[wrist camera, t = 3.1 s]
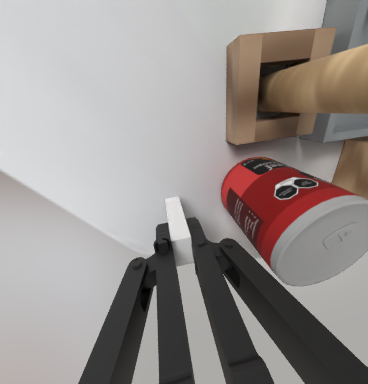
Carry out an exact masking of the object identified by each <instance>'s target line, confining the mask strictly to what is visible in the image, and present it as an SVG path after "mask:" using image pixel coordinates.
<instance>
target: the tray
mask: <svg viewBox="0 0 368 384" xmlns="http://www.w3.org/2000/svg"><path fill="white" fill-rule="evenodd" d="M330 27H337V28H336V32H335V36H334V41H333V45H332V49H331V54H330V55H333V54H336V53H339V52H343V51H346V50H349V49H352V48H356V47H359V46H362V45H366V44H368V0H327V5H326V10H325V15H324V20H323V25H322V28H330ZM363 136H368V114H336V113H317V115H316V119H315V123H314V128H313V132H312V134H305V135H300V139H305V140H310V141H315V142H320V143H326V142H332V141H338V140H345V139H351V138H357V137H363Z"/></svg>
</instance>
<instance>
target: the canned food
mask: <svg viewBox="0 0 368 384" xmlns="http://www.w3.org/2000/svg"><path fill="white" fill-rule="evenodd" d="M221 197H222V202H223V204H224V206H225V208H226V209H227V211H228V212H229V213H230V215H231V216H232V217H233V219H234V220H235V221H236V223H237V224H238V226H239V227H240V228H241V230H242V231H243V232H244V234H245V235H246V236H247V238H248V239H249V240H250V242H251V243H252V245H253V246H254V247H255V249H256V250H257V251H258V253H259V254H260V255H261V257H262V258H263V259H264V261H265V262H266V263H267V264H268V266H269V267H270V268H271V270H272V271H273V272H274V273H275V274H276V276H278V278H279V279H280V280H281V281H282V282H283V283H285V284H287V285H291V286H307V285H312V284H316V283H320V282H322V281H325V280H327V279H330V278H332V277H334V276H335V275H337V274H339V273H341V272H342V271H344V270H345V269H347V268H348V267H350V266H351V265H353V264H354V263H355V262H356V261H357V260H358V259H359V258H361V257H362V256H363V255H364V253H365V252H366V251H367V250H368V200H367V199H365V198H364V197H362V196H359V195H357V194H354V193H352V192H350V191H348V190H346V189H343V188H341V187H338V186H336V185H333V184H331V183H329V182H326V181H324V180H321V179H319V178H316V177H314V176H311V175H309V174H307V173H304V172H302V171H299V170H297V169H294V168H292V167H289V166H287V165H285V164H282V163H280V162H277V161H275V160H272V159H270V158H266V157H254V158H249V159H246V160H243V161H242V162H240V163H238V164H237V165H236V166H234V167H233V168H232V169H231V170H230V171H229V172H228V174H227V175H226V177H225V179H224V181H223V183H222V188H221Z"/></svg>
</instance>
